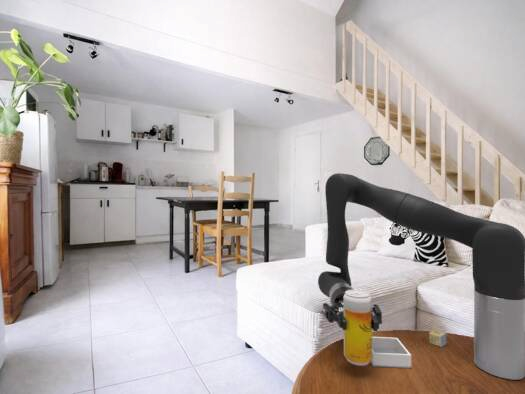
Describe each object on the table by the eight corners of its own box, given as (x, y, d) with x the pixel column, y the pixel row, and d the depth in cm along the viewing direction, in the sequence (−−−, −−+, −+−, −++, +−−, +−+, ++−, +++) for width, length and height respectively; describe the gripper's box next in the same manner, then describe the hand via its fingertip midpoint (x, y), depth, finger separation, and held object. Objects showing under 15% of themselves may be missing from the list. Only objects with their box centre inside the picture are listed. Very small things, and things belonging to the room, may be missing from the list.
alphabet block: (441, 347, 78) (441, 336, 78) (429, 343, 80) (429, 331, 80) (446, 344, 79) (446, 333, 79) (434, 340, 82) (434, 329, 82)
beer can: (373, 368, 63) (373, 298, 64) (344, 365, 65) (344, 296, 65) (369, 353, 69) (369, 289, 69) (342, 351, 71) (342, 288, 71)
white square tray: (397, 349, 77) (397, 337, 77) (411, 368, 68) (411, 355, 68) (363, 347, 77) (363, 336, 77) (372, 366, 69) (373, 353, 69)
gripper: (318, 285, 82) (326, 308, 65) (371, 286, 81) (394, 309, 64) (318, 312, 82) (327, 342, 65) (371, 314, 81) (394, 344, 64)
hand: (360, 326), depth 65 cm, fingers closed on beer can, 6 cm apart
